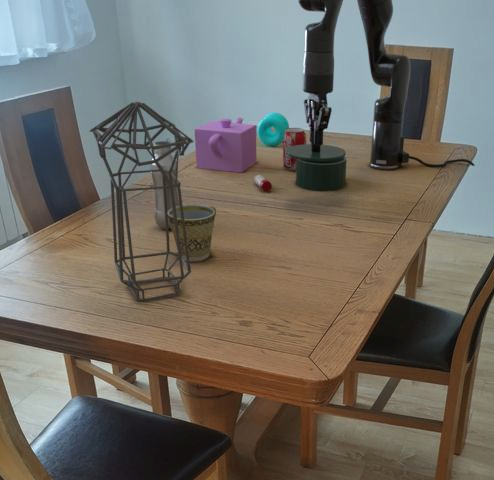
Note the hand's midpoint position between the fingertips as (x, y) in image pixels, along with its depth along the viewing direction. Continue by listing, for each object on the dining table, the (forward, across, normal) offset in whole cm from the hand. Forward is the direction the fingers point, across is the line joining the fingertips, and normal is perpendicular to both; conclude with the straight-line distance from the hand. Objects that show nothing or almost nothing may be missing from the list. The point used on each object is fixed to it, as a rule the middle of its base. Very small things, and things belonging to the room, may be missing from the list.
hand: (316, 143), depth 171 cm
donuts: (+16, +70, -11) cm, 73 cm away
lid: (+2, 0, 0) cm, 2 cm away
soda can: (+16, +36, -7) cm, 40 cm away
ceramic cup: (+16, -25, +37) cm, 48 cm away
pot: (+16, +18, -9) cm, 26 cm away
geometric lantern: (+17, -41, +49) cm, 66 cm away
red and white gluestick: (+16, +19, +8) cm, 26 cm away
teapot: (+16, +47, +11) cm, 51 cm away
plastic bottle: (+16, -6, +40) cm, 44 cm away
